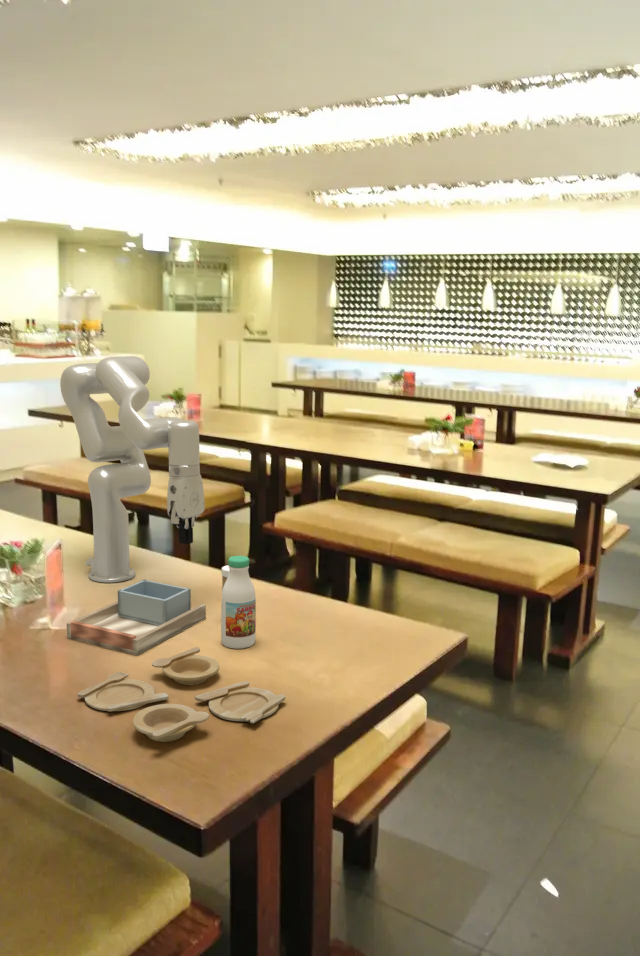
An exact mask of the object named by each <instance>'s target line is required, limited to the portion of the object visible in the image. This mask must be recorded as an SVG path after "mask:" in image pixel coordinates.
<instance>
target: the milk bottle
mask: <svg viewBox="0 0 640 956" xmlns="http://www.w3.org/2000/svg"><path fill="white" fill-rule="evenodd" d="M227 563H228V565H229V567H228V568H229V575H228V578H227V580H226V582H225V584H224V587H223V590H222V589H221V602H220V603H221V605H220V606H221V613H220V616H221V617H220V628H221V629H220V632H221V633H220V637H221V639H220V641H221V644H222V645H223V646H224V647H226V648H230V649H238V650H239V649H246V648H249V647H252V646H253V645H254V644H255V642H256V634H257V633H256V627H257V626H256V623H257V622H256V620H257V618H256V616H257V615H256V614H257V612H256V611H257V610H256V609H257V607H256V605H257V604H256V601H257V600H256V591H255V590H256V589H255V587H254V583H253V582H252V580H251V577H250V574H249V573H250V572H249V568H250V566H249V565H250V558H249V557H248V556H247V555H246V556H245V555H233V556H230V557H229V558H228V560H227Z"/></svg>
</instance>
